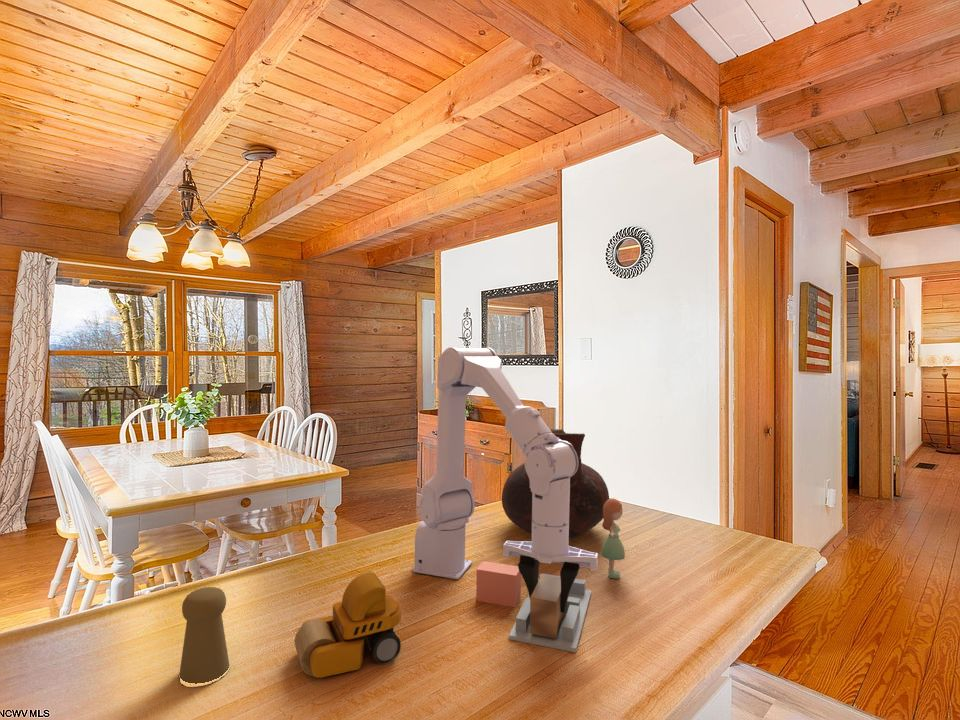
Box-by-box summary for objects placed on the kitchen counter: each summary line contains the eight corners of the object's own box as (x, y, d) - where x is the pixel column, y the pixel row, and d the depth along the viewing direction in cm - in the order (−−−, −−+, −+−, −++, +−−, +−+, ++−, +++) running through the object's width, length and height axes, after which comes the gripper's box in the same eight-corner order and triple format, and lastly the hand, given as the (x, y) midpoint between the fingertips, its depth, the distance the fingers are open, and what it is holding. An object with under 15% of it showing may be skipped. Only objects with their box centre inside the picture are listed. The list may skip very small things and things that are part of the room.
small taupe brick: (529, 633, 79) (530, 597, 79) (540, 607, 87) (541, 574, 87) (556, 638, 78) (557, 601, 78) (565, 612, 86) (565, 578, 85)
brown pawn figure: (191, 659, 73) (191, 581, 73) (236, 658, 74) (236, 580, 73) (169, 688, 67) (169, 603, 67) (219, 686, 68) (218, 602, 67)
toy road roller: (292, 652, 76) (292, 580, 75) (388, 628, 83) (389, 561, 82) (303, 689, 68) (303, 608, 68) (409, 658, 75) (410, 585, 74)
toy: (626, 593, 95) (628, 510, 94) (601, 591, 96) (603, 508, 95) (622, 563, 108) (623, 490, 107) (600, 561, 109) (601, 488, 108)
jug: (608, 518, 135) (610, 420, 134) (608, 558, 110) (611, 438, 109) (510, 510, 140) (512, 416, 139) (491, 545, 116) (493, 432, 115)
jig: (508, 639, 80) (509, 622, 80) (536, 584, 98) (536, 570, 98) (575, 652, 76) (576, 634, 76) (591, 593, 94) (591, 579, 94)
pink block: (476, 600, 92) (476, 569, 91) (482, 591, 95) (483, 561, 95) (515, 607, 89) (516, 575, 89) (520, 598, 93) (521, 567, 93)
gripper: (498, 523, 81) (496, 611, 81) (595, 535, 76) (592, 628, 77) (510, 509, 87) (508, 590, 88) (600, 520, 83) (598, 605, 83)
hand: (548, 607), depth 83 cm, fingers closed on small taupe brick, 4 cm apart
